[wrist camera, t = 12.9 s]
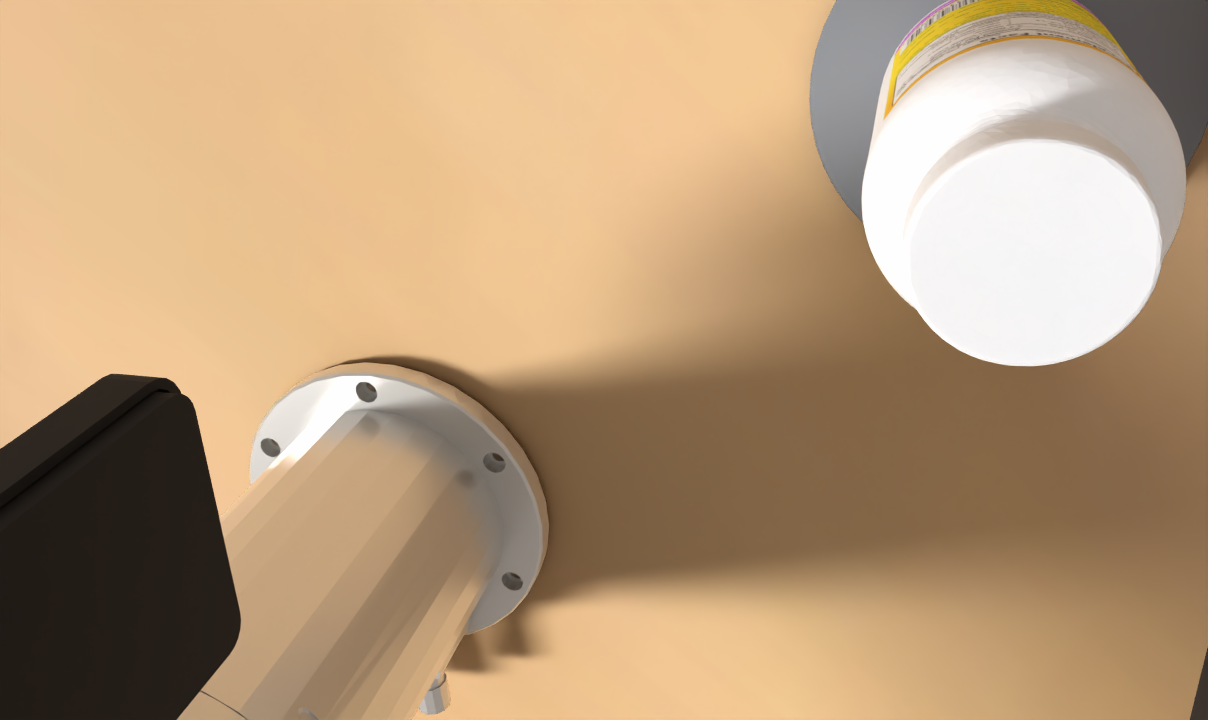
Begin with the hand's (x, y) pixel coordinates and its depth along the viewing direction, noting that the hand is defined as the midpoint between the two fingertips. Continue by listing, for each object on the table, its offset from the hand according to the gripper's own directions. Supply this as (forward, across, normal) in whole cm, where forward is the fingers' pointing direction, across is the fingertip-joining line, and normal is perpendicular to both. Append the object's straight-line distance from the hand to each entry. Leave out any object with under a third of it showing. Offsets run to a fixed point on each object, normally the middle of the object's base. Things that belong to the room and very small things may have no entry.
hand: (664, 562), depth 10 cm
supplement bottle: (+26, -4, +2) cm, 27 cm away
